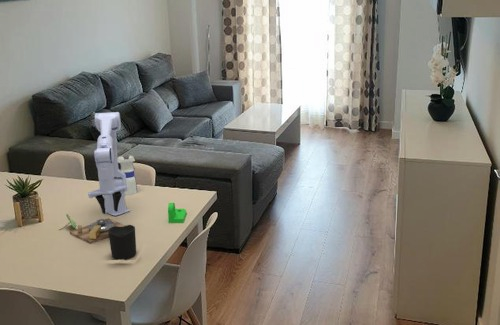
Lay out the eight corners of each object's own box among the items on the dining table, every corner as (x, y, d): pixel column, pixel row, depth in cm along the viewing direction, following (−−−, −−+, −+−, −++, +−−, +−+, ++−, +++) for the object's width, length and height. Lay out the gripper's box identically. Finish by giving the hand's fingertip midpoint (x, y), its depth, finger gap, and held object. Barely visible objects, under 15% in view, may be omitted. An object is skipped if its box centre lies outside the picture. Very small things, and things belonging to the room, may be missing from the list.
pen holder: (123, 247, 206) (121, 222, 204) (142, 252, 202) (140, 227, 199) (105, 257, 199) (102, 231, 196) (124, 262, 194) (122, 236, 191)
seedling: (67, 239, 227) (80, 229, 228) (60, 236, 219) (74, 225, 220) (58, 225, 229) (71, 215, 230) (50, 222, 221) (64, 212, 222)
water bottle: (119, 194, 265) (114, 144, 258) (137, 192, 267) (133, 142, 260) (120, 200, 257) (115, 148, 250) (138, 198, 259) (134, 146, 252)
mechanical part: (183, 223, 228) (182, 205, 226) (168, 223, 228) (167, 205, 226) (187, 212, 240) (186, 195, 237) (173, 213, 240) (172, 195, 238)
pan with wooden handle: (93, 222, 227) (92, 216, 226) (117, 222, 227) (116, 215, 226) (80, 238, 212) (79, 231, 211) (105, 238, 211) (105, 231, 210)
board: (69, 233, 220) (68, 224, 219) (108, 220, 233) (107, 211, 232) (90, 243, 210) (89, 234, 209) (129, 229, 223) (128, 220, 222)
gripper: (90, 184, 203) (94, 219, 207) (128, 177, 210) (131, 211, 214) (85, 179, 209) (89, 213, 213) (122, 173, 216) (125, 205, 219)
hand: (110, 211), depth 213 cm, fingers open, 4 cm apart
